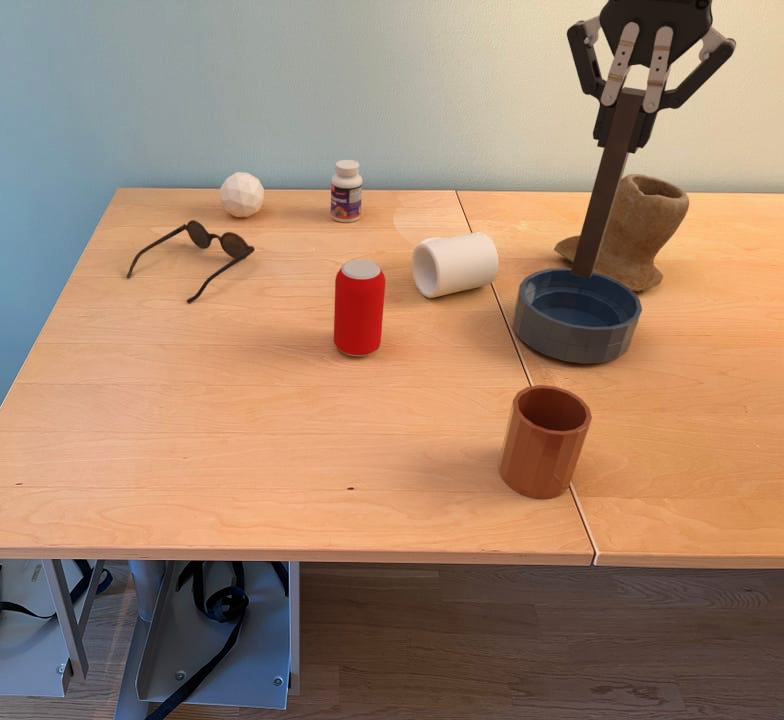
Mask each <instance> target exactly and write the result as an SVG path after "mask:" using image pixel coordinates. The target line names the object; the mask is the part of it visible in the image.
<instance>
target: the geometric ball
mask: <svg viewBox="0 0 784 720" xmlns="http://www.w3.org/2000/svg"><path fill="white" fill-rule="evenodd" d="M219 190H220V191H219V201H220V203H221V204H222V207H223V209H224V210H225V212H227V213H229V214H230V215H232V216H233V217H235V218H249V217H250V216H252V215H254V214H256V213H258V212H259V210H260V208H261V207H262V205H263V203H264V202H265V189H264V187H263V185H262V182H261V181H260V179H259V178H257V177H256V176H254V175H252V174H251V173H249V172H242V171H241V172H239V171H236V172H234V173H233V174H231V175H230V176H229V177H227V178H225V180H224V182H223V183H222V185H221V186H220V188H219Z"/></svg>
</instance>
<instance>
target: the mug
mask: <svg viewBox="0 0 784 720" xmlns="http://www.w3.org/2000/svg"><path fill="white" fill-rule="evenodd" d="M410 264H411V273H412V278H413V282H414V285H415V286H416V288H417V290H418V291H419V292H420V294H421V295H423V297H425V298H428V299H433V298H438V297H442V296H448V295H451V294H455V293H459V292H464V291H468V290H472V289H476V288H481V287H486V286H489V285H491V284H492V283H493V282H494V281H495V279H497V278H496V277H497V276H498V273H499V255H498V251H497V248H496V246H495V243H494V241H493V240H492V238H491V237H490V236H489V235H487V234H486V233H485V232H482V231H476V232H471V233H466V234H461V235H456V236H452V237H446V238H445V237H437V236H436V237H435V236H434V237H427V238H424V239H423V240H421V241H419V242H418V243H417V244H416V245H415V246H414V248H413V252H412V255H411V263H410Z"/></svg>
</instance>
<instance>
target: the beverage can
mask: <svg viewBox="0 0 784 720" xmlns="http://www.w3.org/2000/svg"><path fill="white" fill-rule="evenodd" d="M385 291H386V276H385V274H384V272H383V270H382V268H381V267H380V265H378V264H377V263H375V262H374V261H372V260H367V259H353V260H350V261H348V262H345V263H344V264H343V265H342V266H341V267H340V269H339V271H337V273H336V276H335V280H334V308H333V309H334V315H333V343H334V345H335V347H336V348H337V349H338V350H339V351H340V352H342V353H343V354H344V355H348V356H351V357H366V356H369V355H372V354H374V353H376V352H377V351H378V350H379V348H380V346H381V343H382V330H383V320H384V319H383V318H384V307H385V306H384V305H385Z"/></svg>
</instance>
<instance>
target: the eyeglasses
mask: <svg viewBox="0 0 784 720" xmlns="http://www.w3.org/2000/svg"><path fill="white" fill-rule="evenodd" d="M184 231H186V232H187V234H188V236H189V238H190V240H191V241H192V242H193V244H194V245H196V246H197V247H198V248H200V249H203V250H206V249H208V248H210V246H211V244H212V241H213V240H214V239H217V240H218V242H219V243H220V244H219V245H220V247H221V249H222V251H224V253H226V255H228V256H229V257H230V258H232V259H233V260H231V261H230V262H228V263H227V264H225V265H224V266H222V267H221V268H220V269H218V270H217V271H215V272H214V273H212V274H211V275H210V276H209V277H208V278H207V279H206V280H205V281H204V282H203V283H202V284H201V287H200V288H199V290H198V291H197V292H196V293H195V294H194V295H193V296H192V297H189V298H188V299H187V300H186V303H187V304H191V303H193V302H195V301H196V300H197V299H198V298H199V297H200V296H201V295H202V294H203V292H204V291H205V289H206V287H207V286H208V285H209V284H210V282H212V280H213V279H215V278H217V277H218V276H219V275H221V274H222V273H224V272H226V271H227V270H229V269H230V268H231V267H233V266H234V265H236V264H238V263H240V262H241V261H243V260H245V259H247V257H249V256H250V255H251V254H252V253H254V252H255V250H256V249H255V246H253V245H249V244H248V243H247V241H246V240H245V239H244V238H243V237H242V236H240V235H239V234H238V233H235V232H231V231H227V232H224V233H223V234H222V235H221V236H220V235H218V234H217V233H209V232H208V231H207V229H206V228H205V227H204V225H203V224H202V223H200V222H199V221H197V220H194V219H191V220H189V221H188V222H187V224H185V223H184V224H183V225H181V226H179V227H177V228H176V229H174V230H172V231H171V232H169V233H167V234H165V235H164V236H162V237H160V238H159V239H157V240H155V241H153V242H152V243H151V244H148V245H147V246H145V247H144V248H143V249H141V250H140V251H139V252H138V253H137V254H136V255H135V256H134V258H133V260H132V261H131V264H130V267H129V270H128V272H127V274H126V279H130V278H131V276H132V273H133V271H134V268H135V266H136V264H137V263H138V261H139V259H140V257H141V256H142V255H143V254H144V253H146V252H148V251H150V250H151V249H153V248H155V247H157V246H159V245H160V244H162V243H164V242H165V241H167V240H169V239H171V238H173V237H175V236H177V235H178V234H181V233H182V232H184Z"/></svg>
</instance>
